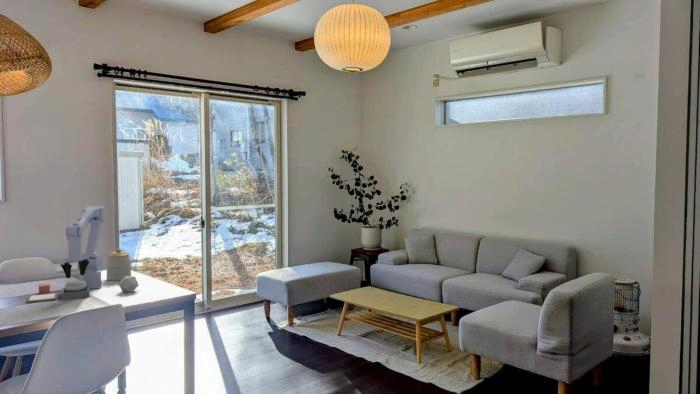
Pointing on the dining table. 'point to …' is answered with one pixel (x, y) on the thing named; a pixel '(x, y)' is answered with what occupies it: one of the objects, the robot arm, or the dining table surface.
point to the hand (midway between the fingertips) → (75, 276)
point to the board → (42, 297)
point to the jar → (118, 265)
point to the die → (128, 284)
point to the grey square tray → (74, 293)
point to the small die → (44, 288)
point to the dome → (75, 286)
